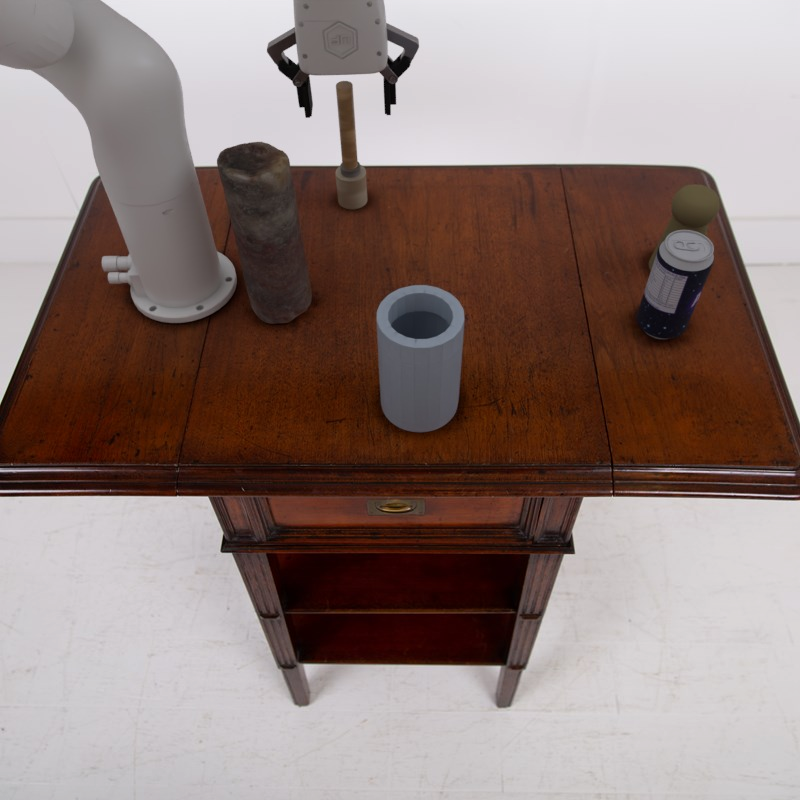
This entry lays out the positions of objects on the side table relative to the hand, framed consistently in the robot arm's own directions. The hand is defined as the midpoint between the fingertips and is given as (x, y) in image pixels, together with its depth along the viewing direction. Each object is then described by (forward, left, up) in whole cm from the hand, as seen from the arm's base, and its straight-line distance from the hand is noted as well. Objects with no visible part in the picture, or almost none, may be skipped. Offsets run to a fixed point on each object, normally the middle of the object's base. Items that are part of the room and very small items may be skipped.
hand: (348, 110), depth 92 cm
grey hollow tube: (+8, -35, -13) cm, 38 cm away
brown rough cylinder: (-8, -20, -13) cm, 25 cm away
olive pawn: (+40, -15, -13) cm, 44 cm away
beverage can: (+36, -25, -13) cm, 45 cm away
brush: (0, 0, -13) cm, 13 cm away
